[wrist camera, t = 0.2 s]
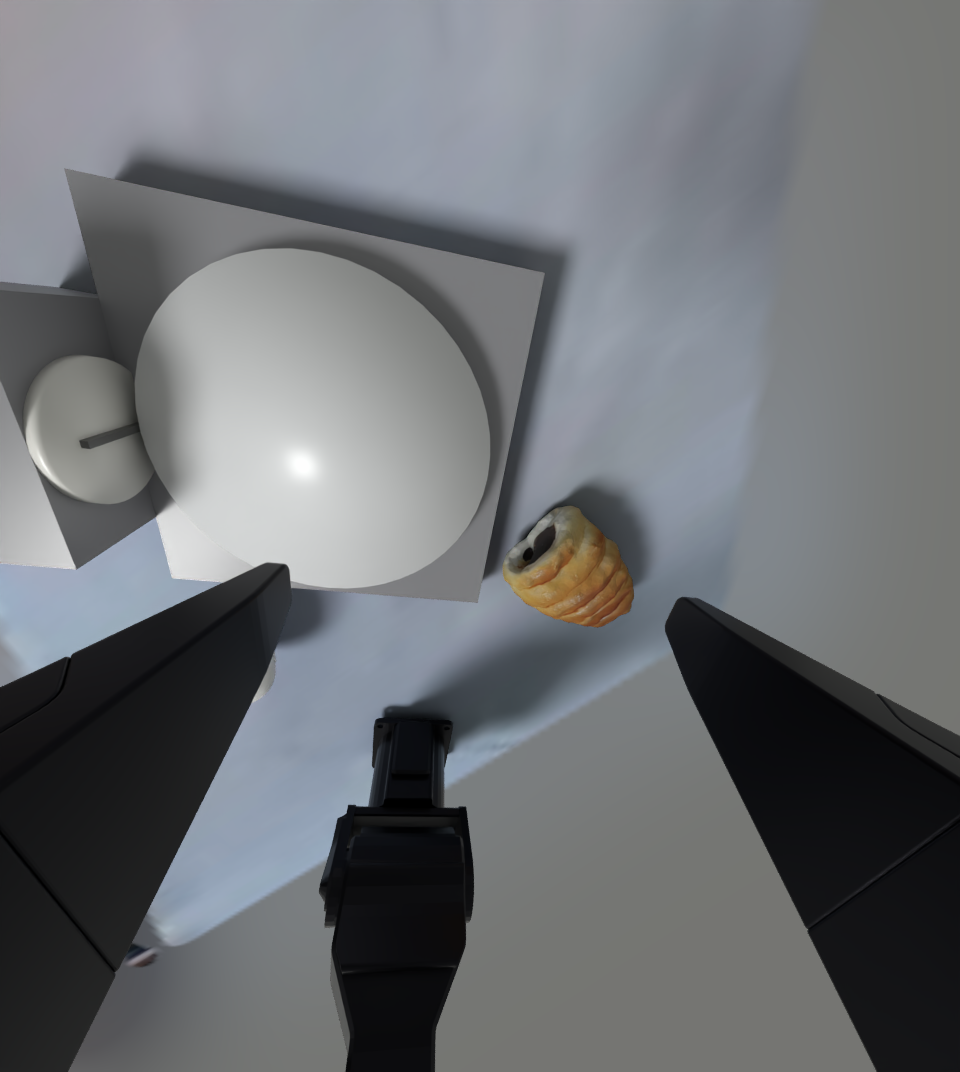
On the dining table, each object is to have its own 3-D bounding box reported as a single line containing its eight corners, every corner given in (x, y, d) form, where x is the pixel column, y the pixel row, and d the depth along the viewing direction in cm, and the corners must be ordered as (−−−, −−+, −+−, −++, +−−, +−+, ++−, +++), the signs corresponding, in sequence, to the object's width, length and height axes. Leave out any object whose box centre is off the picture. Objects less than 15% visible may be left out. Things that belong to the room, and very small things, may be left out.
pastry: (647, 570, 27) (677, 605, 24) (576, 629, 29) (595, 668, 26) (562, 491, 23) (584, 518, 20) (486, 564, 25) (495, 600, 22)
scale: (475, 584, 26) (484, 662, 20) (138, 555, 23) (30, 636, 17) (535, 278, 18) (581, 253, 12) (21, 168, 15) (-272, 59, 9)
